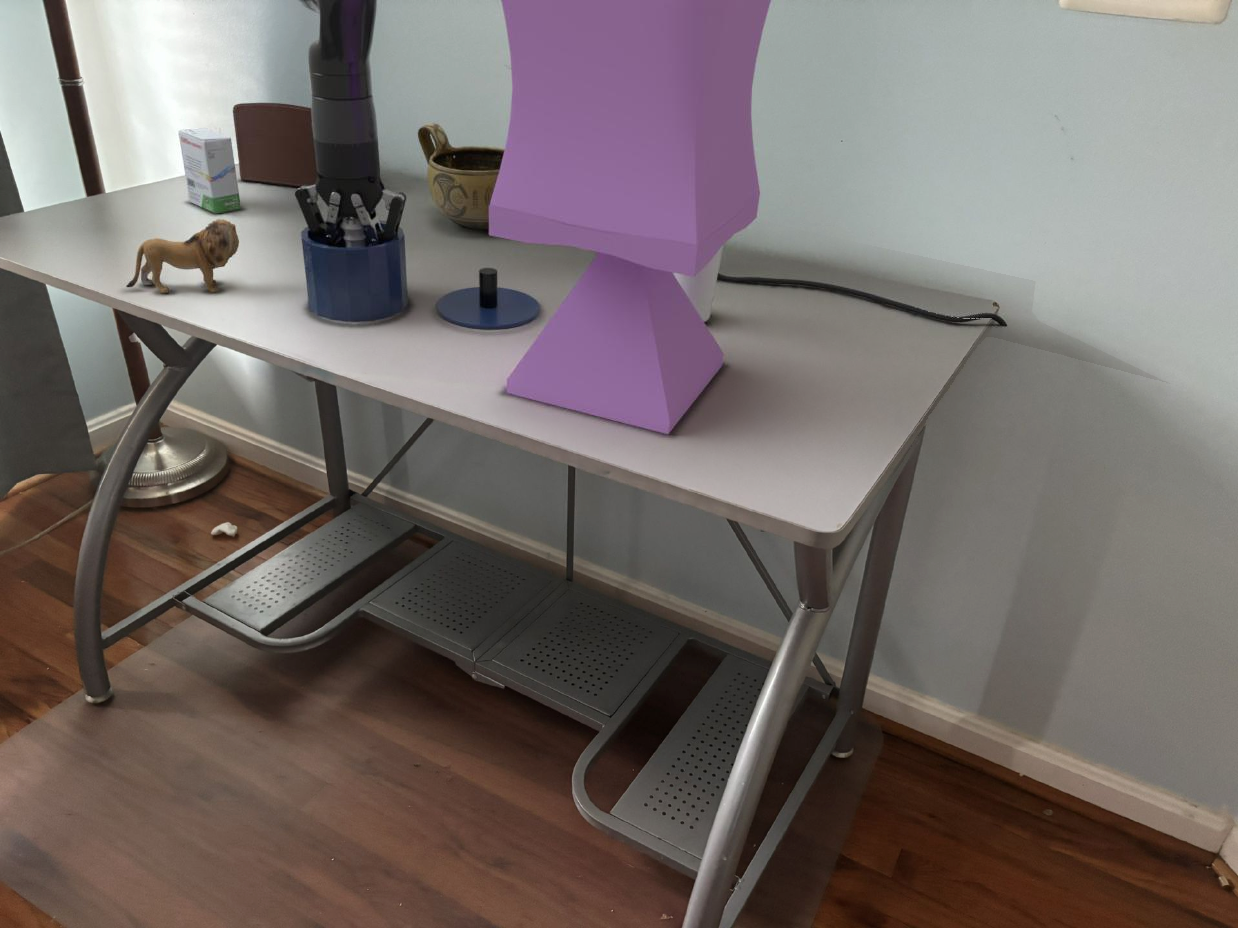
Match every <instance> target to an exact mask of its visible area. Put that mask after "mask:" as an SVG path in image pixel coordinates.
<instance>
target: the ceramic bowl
mask: <svg viewBox="0 0 1238 928" xmlns="http://www.w3.org/2000/svg"><path fill="white" fill-rule="evenodd" d="M417 138H418V142H419V144H420V147H421V150H422V152H423V154H424V157H425V160H426V162H427V165H428V166H427V184H428V190H429V195H430V197H431V200H432V202H433V204H434V205H435V207H436V209H437V210H438V211H439V212H440V213H441V214H442V215H443V216H444V217H446V218H447V219H449V220H450V221H452V222H453V223H455V224H457V225H459V226H462V227H465V228H469V229H473V230H489V206H490V202H491V199H492V195H493V192H494V188H495V185H496V181H497V178H498V175H499V171H500V167H501V163H502V159H503V155H504V151H505V147H497V146H487V145H484V146H483V145H468V146H467V145H465V146H452V145H451V144H450V142H449V138H448V136H447V133H446V131H445V130H444V129H443V127H442V126H441V125H440V124H438V123H436V122H432V123H427V124H424V125H421V127H419V128H418V130H417Z"/></svg>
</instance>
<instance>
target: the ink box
mask: <svg viewBox="0 0 1238 928" xmlns="http://www.w3.org/2000/svg"><path fill="white" fill-rule="evenodd" d="M177 132H178V134H177V135H178V139H179V145H180V151H181V157H182V162H183V169H184V175H185V182H186V187H187V194H188V200H189V202H190V203H191V204H194V205H196V206H198V207H200V208H202V209H204V210H206V211H208V212H209V213H210V212H211V213H213V214H214V215H215V214H216V215H218V214H223V213H228V212H233V211H238V210H242V204H241V197H240V189H239V184H238V183H239V182H238V177H237V171H236V164H235V157H234V149H233V143H232V138H231V137H229V136H227V135H224V134H222V133H219V132H217V131H214V130H212V129H209V128H207V127H200V128H186V129H184V128H183V129H179V130H178V131H177Z"/></svg>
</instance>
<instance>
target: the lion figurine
mask: <svg viewBox="0 0 1238 928" xmlns="http://www.w3.org/2000/svg"><path fill="white" fill-rule="evenodd" d="M239 245H240V240H239V235H238V233H237V227H236V224H235V223H231V221H228V220H227V219H223V218H221V219H215V220H213V221H212V222H210V223H208V225H207V226H205V228H204V229H202V230H200V231H199V232H196V233H194V234H193V235H192V236H191V237H190V238H189V239H187V240H185V241H171V240H166V239H163V238H150V239H147V240H145V241H143V242H142V243H141V244H140V246H139V247H138V251H137V253H136V260H135V261H136V262H135V271H134V276H133V278H132V280H130V281H128V283H127V284H126V285H125V288H133V287H135V285H136V284H137V283H138V280H139V277H140V281H141V283H142V284H143V285H145V286H151V285H155V287H156V289H157V290H158V292H160V293H161V294H169V293H170V288H169V286H164V285H163V284H162V282H161V274H162V270H163V263H166V264H168V265H170V266H171V267H173V268H176V269H179V270H185V271H186V270H196V269H199V270H200V272H201V273H202V276H203V282H204V283H205V286H206V288H207V290H208V291H209V292H210V293H218V292H219V287H218V286H216V285H217V280H215V279H214V270H215V269H219V268H223V267H226V265H227V264H228V261H229V260H230V258H233V256H234V255H236V253H237V252H238V249H239ZM143 256H144V258H145V260H146V261H145V263H144V264H143V266H142V260H143ZM150 273H151V274H152V276H151V278H148V276H149V274H150Z"/></svg>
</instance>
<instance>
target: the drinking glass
mask: <svg viewBox="0 0 1238 928" xmlns="http://www.w3.org/2000/svg"><path fill="white" fill-rule="evenodd" d="M724 248H725V244H723V245H722V247H721V248H720V249H719V250H718V252H717V253H716V254H715V256H714V257H713V258H712V259H711V261H710V262H709V263H708V264H707V265H706V266H705V267H704V268H703V269H702V270H701V271H700V272H699V273H698V274H697V275H696V276H695V277H692V276H687V275H682V274H677V273H673V272H672V273H673V274H674V276H675V278H676V279H677V281H678V282H679V284H680V285H681V287H682V289H683V290H684V292H685V293H686V295H687V296H688V298H689V300H690V301H691V303H692V304H693V306H694V307H695V309H696V311H697V312H698V314H699V315H700V317H701V318H702V320H703V322H704V323H705V322H708V320H709V319H710V317H711V313H712V307H713V306H712V305H713V300H714V295H715V292H716V291H715V290H716V285H717V281H718V279H717V277H718V273H719V272H720V267H721V262H722V258H723V253H724Z"/></svg>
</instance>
